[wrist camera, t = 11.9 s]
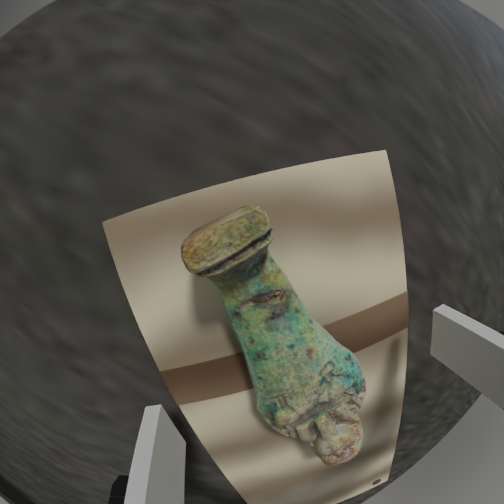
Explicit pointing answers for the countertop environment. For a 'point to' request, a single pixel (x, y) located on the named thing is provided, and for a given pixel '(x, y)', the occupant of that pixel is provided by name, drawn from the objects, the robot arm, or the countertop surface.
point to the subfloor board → (312, 297)
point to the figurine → (280, 337)
